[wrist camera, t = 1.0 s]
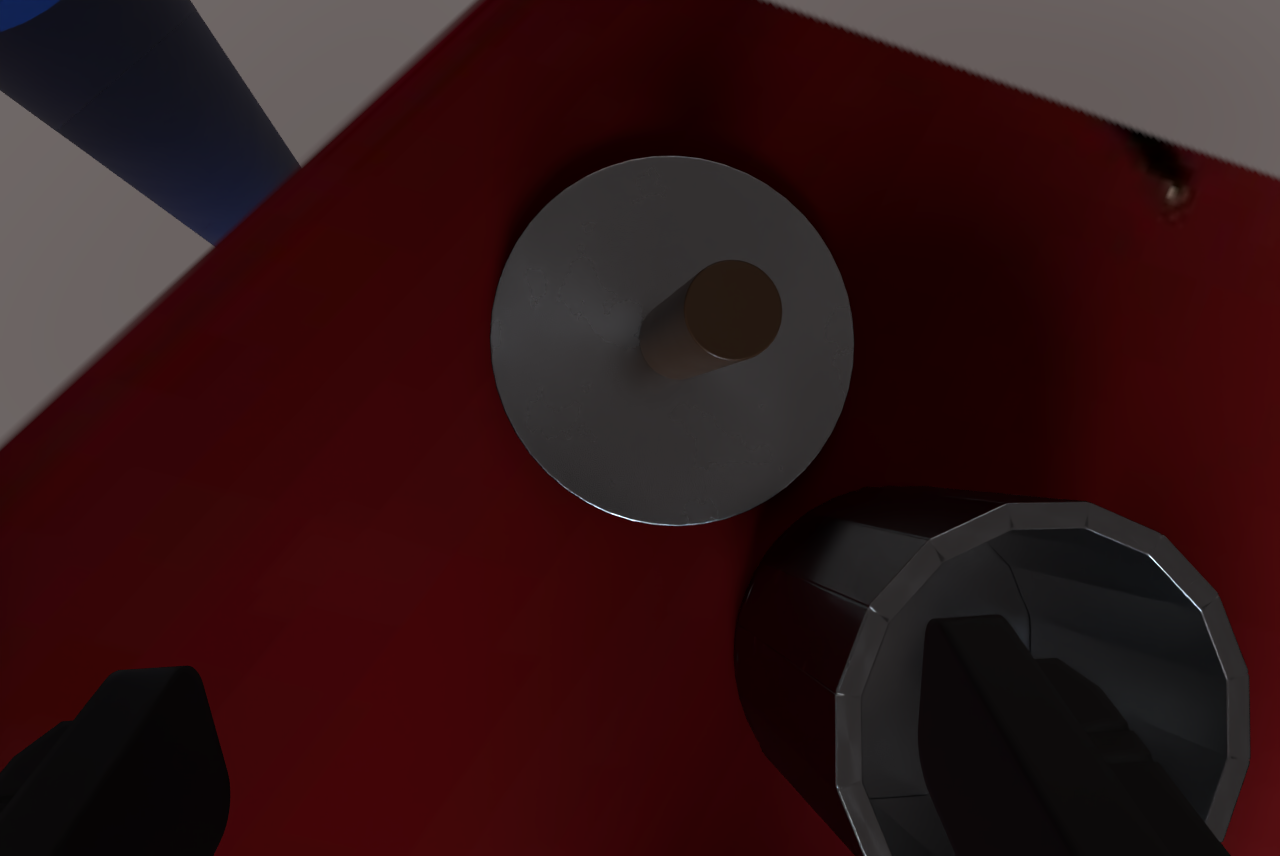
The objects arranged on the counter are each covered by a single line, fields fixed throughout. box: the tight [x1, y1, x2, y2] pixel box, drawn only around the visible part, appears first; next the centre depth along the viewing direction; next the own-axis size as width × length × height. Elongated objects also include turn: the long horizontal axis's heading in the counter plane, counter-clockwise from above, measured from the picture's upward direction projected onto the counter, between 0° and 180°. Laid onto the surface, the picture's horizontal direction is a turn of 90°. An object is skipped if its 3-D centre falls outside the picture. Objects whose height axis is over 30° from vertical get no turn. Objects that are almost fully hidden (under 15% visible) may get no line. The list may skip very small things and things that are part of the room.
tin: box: [734, 486, 1250, 856], centre depth 28 cm, size 11×11×10 cm
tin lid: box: [490, 156, 854, 526], centre depth 28 cm, size 12×12×8 cm
